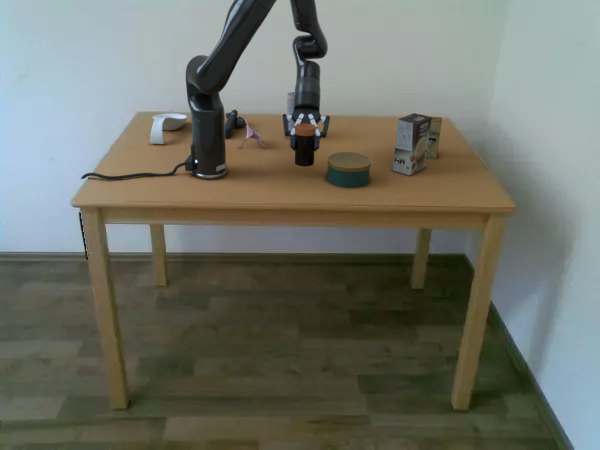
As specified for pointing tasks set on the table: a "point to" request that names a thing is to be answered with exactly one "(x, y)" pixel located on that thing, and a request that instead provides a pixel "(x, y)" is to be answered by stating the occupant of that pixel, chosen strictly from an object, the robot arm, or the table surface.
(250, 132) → the lily
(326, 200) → the table surface
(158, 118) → the spoon rest
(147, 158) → the table surface
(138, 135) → the table surface
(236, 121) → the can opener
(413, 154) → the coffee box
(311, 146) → the tea tin
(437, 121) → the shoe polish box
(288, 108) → the beverage can
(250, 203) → the table surface
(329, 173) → the biscuit tin
